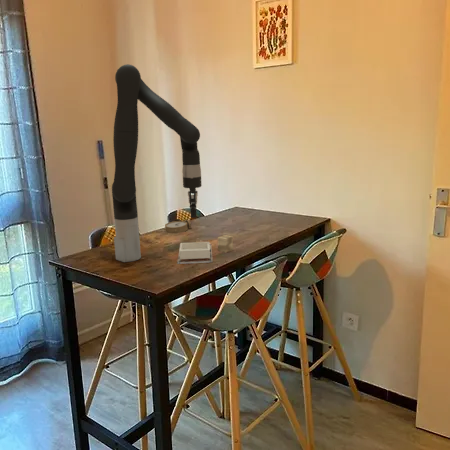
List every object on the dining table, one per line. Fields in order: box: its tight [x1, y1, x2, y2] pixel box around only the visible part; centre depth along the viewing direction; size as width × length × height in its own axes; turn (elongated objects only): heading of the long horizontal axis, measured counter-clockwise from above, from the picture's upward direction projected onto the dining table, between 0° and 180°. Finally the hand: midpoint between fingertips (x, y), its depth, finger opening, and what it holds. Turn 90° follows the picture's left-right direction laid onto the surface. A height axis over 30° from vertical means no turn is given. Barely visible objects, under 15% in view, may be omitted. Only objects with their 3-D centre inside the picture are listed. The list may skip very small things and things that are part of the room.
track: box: [176, 243, 214, 265], centre depth 195 cm, size 25×14×1 cm, turn 3°
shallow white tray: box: [177, 241, 213, 260], centre depth 190 cm, size 12×13×4 cm
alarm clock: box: [163, 218, 192, 234], centre depth 237 cm, size 11×5×15 cm
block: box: [217, 234, 234, 254], centre depth 198 cm, size 4×4×6 cm
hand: (193, 215), depth 195 cm, fingers open, 6 cm apart
